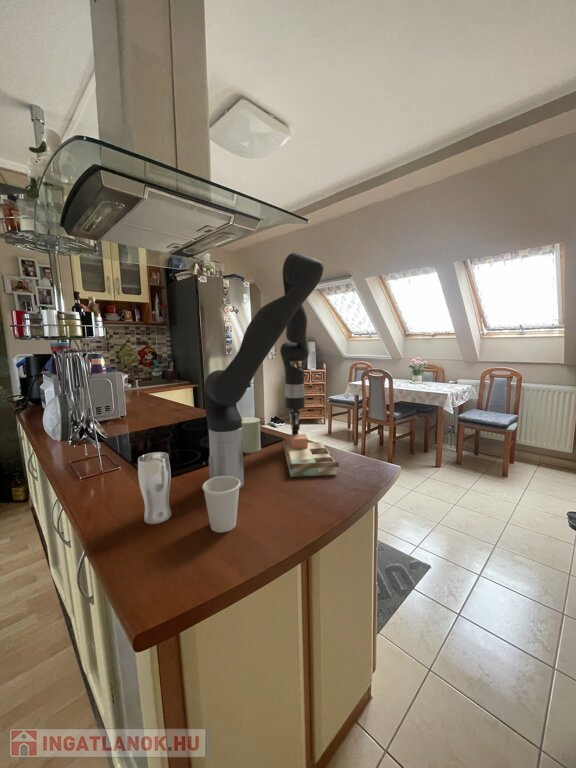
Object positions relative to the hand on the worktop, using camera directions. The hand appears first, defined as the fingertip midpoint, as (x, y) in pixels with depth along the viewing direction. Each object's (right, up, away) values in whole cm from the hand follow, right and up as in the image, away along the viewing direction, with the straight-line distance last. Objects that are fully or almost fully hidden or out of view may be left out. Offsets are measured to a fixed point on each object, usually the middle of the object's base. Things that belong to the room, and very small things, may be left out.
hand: (295, 439), depth 123 cm
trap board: (+4, -5, -14) cm, 15 cm away
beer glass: (-34, -11, -47) cm, 59 cm away
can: (-18, -4, -1) cm, 18 cm away
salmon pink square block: (+1, -1, -5) cm, 6 cm away
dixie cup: (-17, -11, -51) cm, 55 cm away
